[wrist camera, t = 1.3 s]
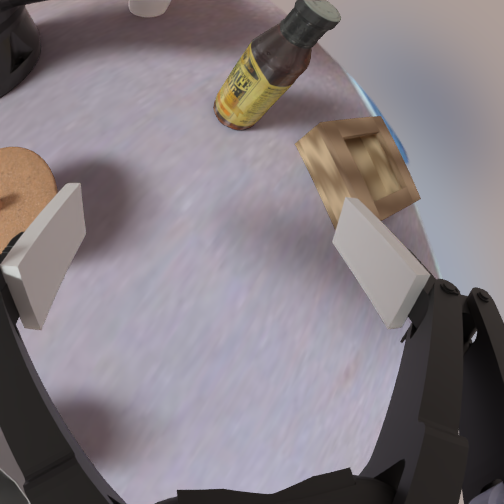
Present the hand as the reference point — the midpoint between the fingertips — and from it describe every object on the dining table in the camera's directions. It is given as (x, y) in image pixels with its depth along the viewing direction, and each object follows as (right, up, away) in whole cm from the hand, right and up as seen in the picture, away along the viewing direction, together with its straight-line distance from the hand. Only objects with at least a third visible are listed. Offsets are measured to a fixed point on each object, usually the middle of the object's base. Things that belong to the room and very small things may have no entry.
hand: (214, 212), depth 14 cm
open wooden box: (+16, +9, +29) cm, 34 cm away
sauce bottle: (-1, +16, +23) cm, 28 cm away
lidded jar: (-21, 0, +10) cm, 23 cm away
